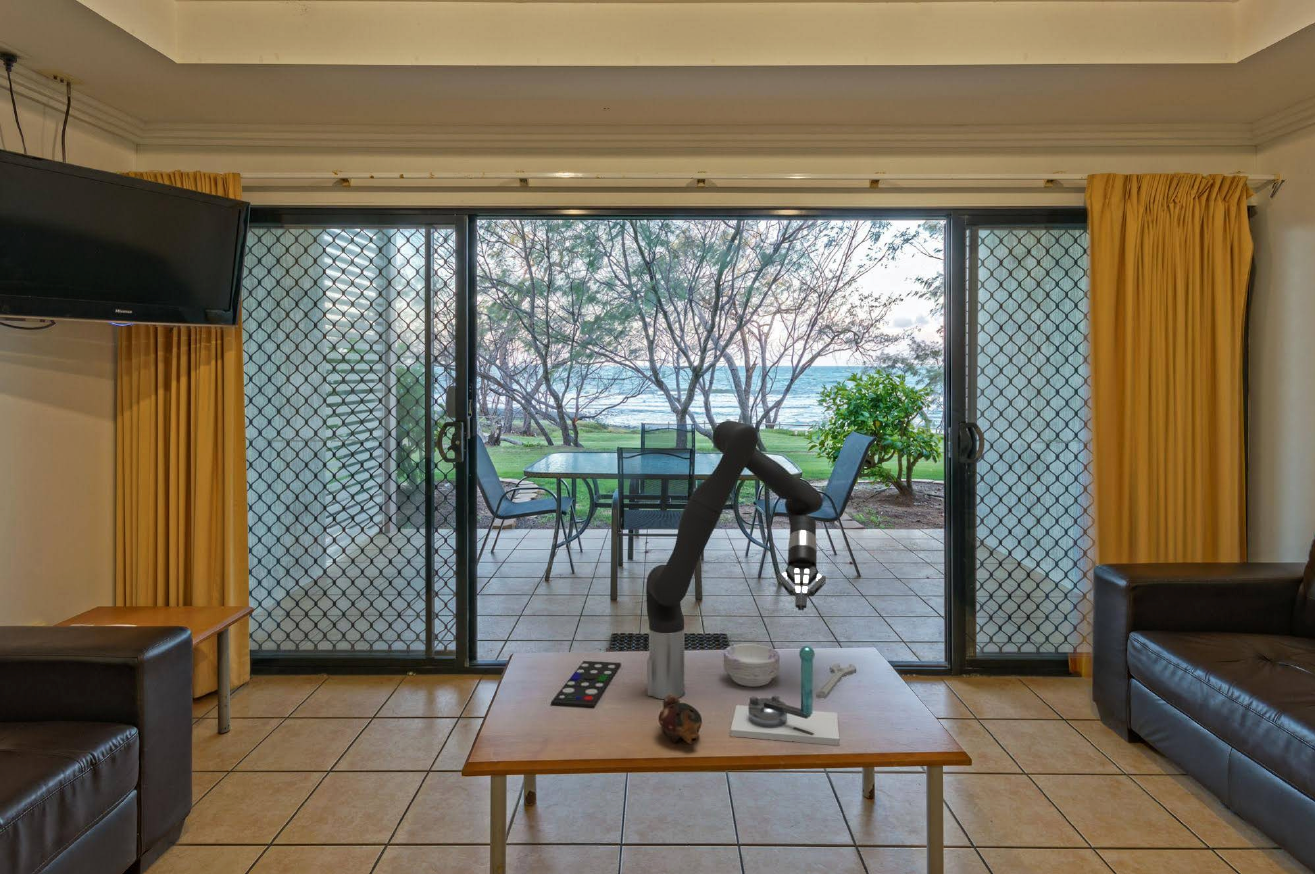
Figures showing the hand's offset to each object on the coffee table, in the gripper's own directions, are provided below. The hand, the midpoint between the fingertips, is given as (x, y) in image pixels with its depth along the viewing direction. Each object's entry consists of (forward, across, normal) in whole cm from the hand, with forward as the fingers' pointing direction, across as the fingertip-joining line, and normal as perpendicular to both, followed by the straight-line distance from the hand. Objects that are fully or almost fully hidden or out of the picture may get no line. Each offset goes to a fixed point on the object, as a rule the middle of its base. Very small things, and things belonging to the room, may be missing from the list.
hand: (801, 608), depth 187 cm
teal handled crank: (+29, -4, +2) cm, 29 cm away
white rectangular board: (+29, -3, +4) cm, 29 cm away
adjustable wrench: (+7, +8, +27) cm, 29 cm away
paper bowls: (+9, -13, +24) cm, 29 cm away
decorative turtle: (+36, -26, -2) cm, 45 cm away
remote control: (+18, -56, +17) cm, 61 cm away
